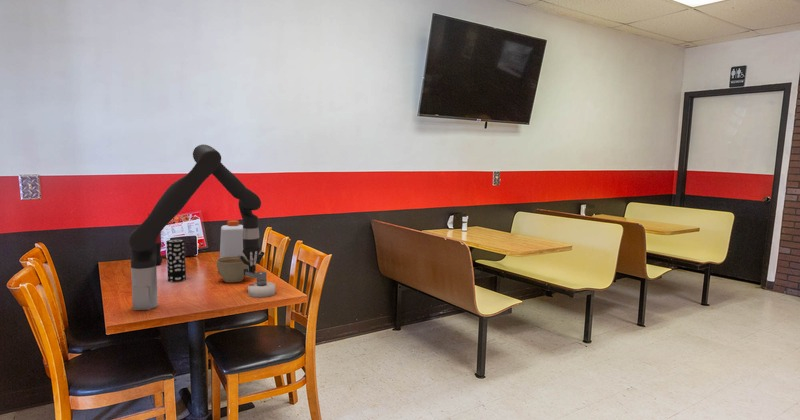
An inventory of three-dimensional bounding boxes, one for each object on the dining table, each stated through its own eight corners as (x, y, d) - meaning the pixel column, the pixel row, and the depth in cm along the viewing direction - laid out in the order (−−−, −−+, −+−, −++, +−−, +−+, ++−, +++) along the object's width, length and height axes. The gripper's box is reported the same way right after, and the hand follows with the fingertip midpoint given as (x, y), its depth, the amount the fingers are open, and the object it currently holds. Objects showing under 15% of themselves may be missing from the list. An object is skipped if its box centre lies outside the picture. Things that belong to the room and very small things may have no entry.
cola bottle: (146, 264, 271) (143, 212, 268) (162, 262, 275) (160, 211, 272) (145, 267, 264) (142, 213, 260) (162, 266, 267) (160, 213, 264)
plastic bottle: (249, 274, 254) (248, 222, 251) (219, 276, 248) (218, 223, 245) (247, 267, 268) (246, 218, 265) (218, 269, 262) (217, 219, 259)
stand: (273, 297, 214) (273, 287, 214) (246, 297, 212) (246, 287, 212) (276, 289, 226) (276, 280, 226) (250, 290, 224) (250, 280, 224)
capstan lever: (268, 284, 219) (268, 272, 219) (261, 286, 216) (260, 274, 215) (248, 279, 227) (248, 267, 227) (240, 281, 224) (240, 269, 223)
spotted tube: (178, 282, 235) (177, 242, 232) (164, 281, 236) (162, 241, 234) (189, 278, 243) (188, 239, 241) (175, 277, 244) (173, 239, 242)
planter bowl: (215, 285, 231) (214, 263, 230) (218, 277, 247) (217, 256, 245) (249, 283, 235) (249, 262, 234) (250, 275, 251) (250, 255, 250)
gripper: (259, 234, 231) (260, 268, 234) (234, 237, 222) (235, 273, 224) (267, 236, 226) (268, 271, 228) (241, 240, 217) (243, 276, 219)
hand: (252, 272), depth 226 cm, fingers closed
